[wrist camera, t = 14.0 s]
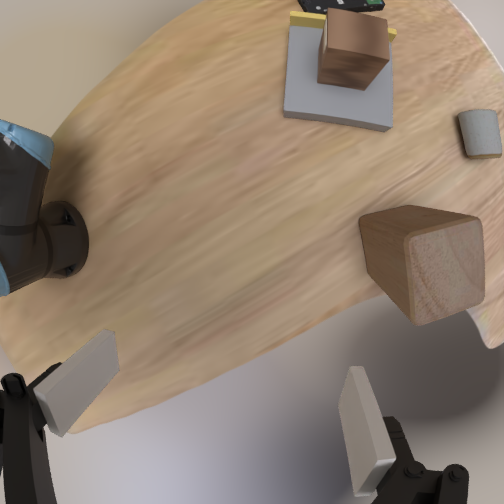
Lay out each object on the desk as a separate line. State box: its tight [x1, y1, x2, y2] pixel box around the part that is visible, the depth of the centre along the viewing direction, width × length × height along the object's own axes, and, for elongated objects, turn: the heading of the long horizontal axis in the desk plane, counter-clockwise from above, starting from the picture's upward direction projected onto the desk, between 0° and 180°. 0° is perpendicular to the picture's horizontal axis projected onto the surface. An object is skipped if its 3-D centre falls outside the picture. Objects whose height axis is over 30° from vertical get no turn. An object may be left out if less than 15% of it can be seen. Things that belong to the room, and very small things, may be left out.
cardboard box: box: [317, 8, 390, 91], centre depth 30 cm, size 7×6×12 cm
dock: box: [284, 11, 397, 132], centre depth 36 cm, size 16×16×7 cm
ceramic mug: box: [458, 109, 502, 159], centre depth 35 cm, size 11×8×8 cm
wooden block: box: [359, 205, 485, 325], centre depth 34 cm, size 10×10×20 cm
